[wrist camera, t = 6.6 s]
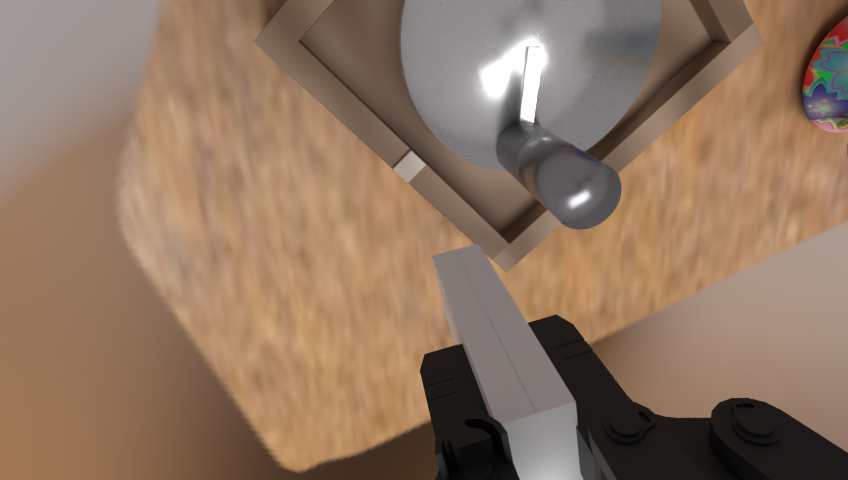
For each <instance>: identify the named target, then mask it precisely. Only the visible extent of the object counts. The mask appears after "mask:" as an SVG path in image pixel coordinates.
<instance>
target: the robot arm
mask: <svg viewBox="0 0 848 480" xmlns="http://www.w3.org/2000/svg"><path fill="white" fill-rule="evenodd" d="M432 260H433V264H434V268H435V272H436V276H437V280H438V284H439V288H440V292H441V296H442V300H443V304H444V308H445V312H446V316H447V320H448V324H449V327H450V330H451V333H452V336H453V339H454V341H455V344H456V345H455V346H451V347H448V348H444V349H441V350H438V351H434V352H431V353H427V354H425V355H424V358H423V362H422V365H421V369H420V373H421V377H422V382H423V386H424V390H425V395H426V399H427V403H428V408H429V412H430V416H431V421H432V425H433V429H434V433H435V438H436V441H435V456H436V459H437V462H438V465H439V472H438V475H437V477H436V479H435V480H583V479H584V480H848V453H847V452H846V451H844V450H843V449H841V448H839V447H838V446H836V445H835V444H833V443H832V442H830V441H828V440H827V439H825V438H824V437H822V436H821V435H819V434H818V433H816V432H814V431H813V430H811V429H810V428H808V427H807V426H805V425H803V424H802V423H800V422H799V421H797V420H796V419H794V418H792V417H791V416H790V415H788V414H786V413H785V412H783V411H782V410H780V409H778V408H776V407H774V406H772V405H770V404H768V403H766V402H762V401H758V400H754V399H749V398H731V399H728V400H725V401H723V402H720V403H719V404H718V405H717V406H716V407H715V408H714V409H713V410H712V414H711V418H672V417H664V416H660V415H657V414H654V413H653V412H652V411H651V410H649V409H648V408H647V407H644V406H642V405H640V404H638V403H636V402H633V401H632V400H631V399H630V398H629V397H628V396H627V395H626V393H625V392H624V391H623V389H622V388H621V387H620V385H619V384H618V383H617V381H615V379H614V378H613V376H612V375H611V374H610V372H609V371H608V370H607V369H606V367H605V366H604V365H603V363H602V362H601V361H600V359H599V358H598V357H597V355H596V354H595V353H593V350H592V349H591V347H590V346H589V345H588V343H587V342H586V341H584V338H583V337H582V335H581V334H580V333H579V331H578V330H577V329H576V328H575V326H574V325H573V324H572V323H570V322H568V321H566V320H565V319H563V318H561V317H560V316H558V315H553V316H550V317H546V318H543V319H540V320H536V321H533V322H529V323H527V322H526V320H525V318H524V317H523V315H522V313H521V312H520V310H519V308H518V307H517V305H516V304H515V302H514V300H513V299H512V297H511V295H510V294H509V292H508V291H507V289H506V287H505V286H504V284H503V282H502V281H501V279H500V278H499V276H498V274H497V273H496V271H495V269H494V268H493V266H492V265H491V263H490V261H489V260H488V258H487V256H486V255H485V253H484V252H483V250H482V248H481V247H480V245H479V243H478V244H474V245H471V246H467V247H463V248H460V249H456V250H453V251H449V252H446V253H442V254H439V255H435V256H432Z"/></svg>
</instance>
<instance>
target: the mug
mask: <svg viewBox="0 0 848 480" xmlns="http://www.w3.org/2000/svg"><path fill="white" fill-rule="evenodd" d="M802 98H803V105H804V109H805V111H806V114H807V116H808V118H809V119H810V120H811V122H812V123H813V124H815V125H816V126H817V127H819V128H821V129H823V130H825V131H829V132H848V16H847V17H846V18H844V19H843V20H842V21H841V22H839V23H838V24H837V25H836V26H835V27H834V28H833V29H832V30H831V31H830V32H829V33H828V35H827V36H826V37H825V38H824V40H823V41H822V42H821V44H820V45H819V47H818V48H817V50H816V52H815V53H814V55H813V57H812V59H811V61H810V63H809V66H808V68H807V71H806V74H805V78H804V83H803V91H802ZM847 155H848V145H847Z"/></svg>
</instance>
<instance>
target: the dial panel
mask: <svg viewBox="0 0 848 480" xmlns="http://www.w3.org/2000/svg"><path fill="white" fill-rule="evenodd" d="M400 5H401V0H287V1H286V3H285V4H284V5H283V6H282V7H281V9H280V10H279V11H278V12H277V13H276V15H275V16H274V17H273V18H272V20H271V21H270V22H269V23H268V24H267V26H266V27H265V28H264V29H263V30H262V32H261V33H260V34H259V35H258V37H257V38H256V39H255V40H254V41H253V42H255V43H256V44H257V45H258V46H259V47H260V48H261V49H262V50H263V51H264V52H265V53H267V54H268V55H269V56H270V57H271V58H272V59H273V60H274V61H275V62H276V63H277V64H279V65H280V66H281V67H282V68H283V69H284V70H285V71H286V72H287V73H288V74H290V75H291V76H292V77H293V78H294V79H295V80H296V81H297V82H298V83H299V84H300V85H302V86H303V87H304V88H305V89H306V90H307V91H308V92H309V93H310V94H311V95H313V96H314V97H315V98H316V99H317V100H318V101H319V102H320V103H321V104H322V105H323V106H325V107H326V108H327V109H328V110H329V111H330V112H331V113H332V114H333V115H334V116H336V117H337V118H338V119H339V120H340V121H341V122H342V123H343V124H344V125H345V126H346V127H348V128H349V129H350V130H351V131H352V132H353V133H354V134H355V135H356V136H357V137H358V138H360V139H361V140H362V141H363V142H364V143H365V144H366V145H367V146H368V147H369V148H371V149H372V150H373V151H374V152H375V153H376V154H377V155H378V156H379V157H380V158H381V159H383V160H384V161H385V162H386V163H387V164H388V165H389V166H390V167H391V168H392V169H393V170H394V171H395V172H396V173H397V174H398V175H399V176H400V177H401V178H402V179H403V180H405V181H406V182H407V183H409V184H410V185H411V186H412V187H413V188H414V189H415V190H416V191H418V192H419V193H420V194H421V195H422V196H423V197H424V198H425V199H426V200H427V201H429V202H430V203H431V204H432V205H433V206H434V207H435V208H436V209H437V210H438V211H439V212H441V213H442V214H443V215H444V216H445V217H446V218H447V219H448V220H449V221H450V222H452V223H453V224H454V225H455V226H456V227H457V228H458V229H459V230H460V231H461V232H462V233H464V234H465V235H466V236H467V237H468V238H469V239H470V240H471V241H472V242H473V243H474V244H478V243H479V245H480V247H481V248H482V250H483V252H484V253H485V254H487V255H488V256H489V257H490V258H491V259H492V260H493V261H494V262H495V263H496V264H497V265H499V266H500V267H501V268H502V269H503V270H504V271H505V272H506V273H507V272H508V271H509V270H510V269H511V268H512V267H514V266H515V265H516V264H517V263H518V262H519V261H520V260H521V259H523V258H524V257H525V256H526V255H527V254H528V253H529V252H530V251H531V250H533V249H534V248H535V247H536V246H537V245H538V244H539V243H540V242H542V241H543V240H544V239H545V238H546V237H547V236H548V235H549V234H551V233H552V232H553V231H554V230H555V229H556V228H557V227H558V226H559V225H561V224H562V223H561V222H560V221H559V220H558V219H557V218H556V217H555V216H554V215H553V214H552V213H551V212H550V211H549V210H547V209H546V208H545V207H544V206H543V205H542V204H541V203H540V202H539V201H538V200H537V199H536V198H535V197H534V196H533V195H532V194H531V193H530V192H529V191H528V190H526V189H525V188H524V187H523V186H522V185H521V184H520V183H519V182H518V181H517V180H516V179H515V178H514V177H513V176H512V175H511V174H510V173H509V172H501V171H496V170H491V169H487V168H484V167H481V166H478V165H475V164H473V163H471V162H469V161H467V160H465V159H463V158H461V157H459V156H458V155H457V154H455V153H454V152H452V151H451V150H449V149H448V148H447V147H446V146H445V145H444V144H443V143H442V142H440V141H439V140H438V139H437V138H436V137H435V135H434V134H433V133H432V132H431V130H430V129H429V128H428V127H427V126H426V124H425V123H424V122H423V120H422V119H421V118H420V116H419V114H418V113H417V111H416V109H415V108H414V106H413V105H412V102H411V100H410V98H409V96H408V94H407V91H406V89H405V86H404V82H403V79H402V76H401V72H400V66H399V61H398V54H397V25H398V15H399V10H400ZM762 44H764V43H763V41H762V39H761V37H760V35H759V33H758V31H757V29H756V27H755V25H754V23H753V20H752V18H751V16H750V14H749V12H748V10H747V8H746V6H745V4H744V2H743V0H661V22H660V31H659V37H658V42H657V47H656V51H655V54H654V58H653V61H652V65H651V67H650V70H649V72H648V74H647V77H646V79H645V82H644V84H643V86H642V87H641V89H640V91H639V93H638V95H637V97H636V99H635V100H634V102H633V103H632V105H631V106H630V108H629V109H628V110H627V112H626V113H625V114H624V116H623V117H622V118H621V119H620V121H619V122H618V123H617V124H616V125H615V126H614V127H613V128H612V129H611V130H610V131H609V132H608V133H607V134H606V135H605V136H604V137H603V138H602V139H601V140H599V141H598V142H597V143H596V144H594V145H593V146H592V147H591V148H589V149H588V150H586V151H584V152H586V153H587V154H589V155H591V156H593V157H594V158H596V159H598V160H600V161H601V162H603V163H605V164H607V165H608V166H610V167H612V168H613V169H614V170H615V171H616V173H617V174H618V173H619V172H620V171H621V170H622V169H623V168H625V167H626V166H627V165H628V164H629V163H630V162H631V161H632V160H633V159H635V158H636V157H637V156H638V155H639V154H640V153H641V152H642V151H644V150H645V149H646V148H647V147H648V146H649V145H650V144H651V143H653V142H654V141H655V140H656V139H657V138H658V137H659V136H660V135H662V134H663V133H664V132H665V131H666V130H667V129H668V128H669V127H670V126H672V125H673V124H674V123H675V122H676V121H677V120H678V119H679V118H681V117H682V116H683V115H684V114H685V113H686V112H687V111H688V110H690V109H691V108H692V107H693V106H694V105H695V104H696V103H697V102H699V101H700V100H701V99H702V98H703V97H704V96H705V95H706V94H707V93H709V92H710V91H711V90H712V89H713V88H714V87H715V86H716V85H718V84H719V83H720V82H721V81H722V80H723V79H724V78H725V77H727V76H728V75H729V74H730V73H731V72H732V71H733V70H734V69H736V68H737V67H738V66H739V65H740V64H741V63H742V62H743V61H744V60H746V59H747V58H748V57H749V56H750V55H751V54H752V53H753V52H755V51H756V50H757V49H758V48H759V47H760V46H761V45H762Z"/></svg>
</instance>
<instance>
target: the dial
mask: <svg viewBox="0 0 848 480" xmlns="http://www.w3.org/2000/svg"><path fill="white" fill-rule="evenodd" d="M660 22H661V0H401V5H400V10H399V15H398V25H397V54H398V61H399V66H400V72H401V76H402V79H403V82H404V86H405V89H406V91H407V94H408V96H409V98H410V100H411V102H412V105H413V106H414V108H415V109H416V111H417V113H418V114H419V116H420V118H421V119H422V120H423V122H424V123H425V124H426V126H427V127H428V128H429V129H430V130H431V132H432V133H433V134H434V135H435V137H436V138H437V139H438V140H439V141H440V142H442V143H443V144H444V145H445V146H446V147H447V148H448V149H449V150H451V151H452V152H454V153H455V154H457V155H458V156H459V157H461V158H463V159H465V160H467V161H469V162H471V163H473V164H475V165H478V166H481V167H484V168H487V169H491V170H496V171H501V172H509V173H510V174H511V175H512V176H513V177H514V178H515V179H516V180H517V181H518V182H519V183H520V184H521V185H522V186H523V187H524V188H525V189H526V190H528V191H529V192H530V193H531V194H532V195H533V196H534V197H535V198H536V199H537V200H538V201H539V202H540V203H541V204H542V205H543V206H544V207H545V208H546V209H547V210H549V211H550V212H551V213H552V214H553V215H554V216H555V217H556V218H557V219H558V220H559V221H560V222H561V223H562V224H564V225H565V226H567V227H569V228H572V229H580V230H581V229H588V228H591V227H594V226H596V225H598V224H600V223H602V222H603V221H604V220H606V219H607V218H608V217H609V216H610V215H611V213H612V212H613V211H614V209H615V208H616V206H617V204H618V202H619V199H620V196H621V182H620V178H619V176H618V174H617V173H616V171H615V170H614V169H613V168H612V167H610V166H608V165H607V164H605V163H603V162H601V161H600V160H598V159H596V158H594V157H593V156H591V155H589V154H587V153H586V152H584V151H586V150H588V149H589V148H591V147H592V146H593V145H594V144H596V143H597V142H598V141H599V140H601V139H602V138H603V137H604V136H605V135H606V134H607V133H608V132H609V131H610V130H611V129H612V128H613V127H614V126H615V125H616V124H617V123H618V122H619V121H620V119H621V118H622V117H623V116H624V114H625V113H626V112H627V110H628V109H629V108H630V106H631V105H632V103H633V102H634V100H635V99H636V97H637V95H638V93H639V91H640V89H641V87H642V86H643V84H644V82H645V79H646V77H647V74H648V72H649V70H650V67H651V65H652V61H653V58H654V54H655V51H656V47H657V42H658V37H659V31H660Z"/></svg>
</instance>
